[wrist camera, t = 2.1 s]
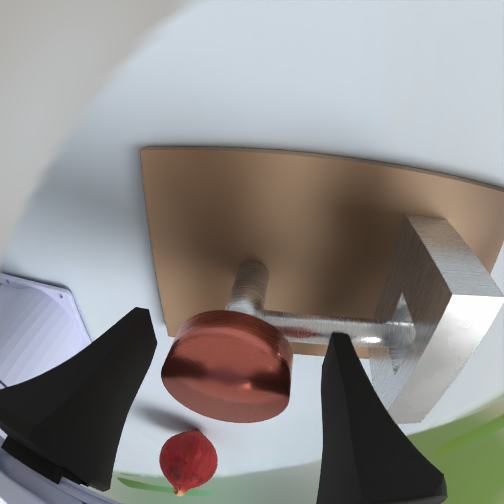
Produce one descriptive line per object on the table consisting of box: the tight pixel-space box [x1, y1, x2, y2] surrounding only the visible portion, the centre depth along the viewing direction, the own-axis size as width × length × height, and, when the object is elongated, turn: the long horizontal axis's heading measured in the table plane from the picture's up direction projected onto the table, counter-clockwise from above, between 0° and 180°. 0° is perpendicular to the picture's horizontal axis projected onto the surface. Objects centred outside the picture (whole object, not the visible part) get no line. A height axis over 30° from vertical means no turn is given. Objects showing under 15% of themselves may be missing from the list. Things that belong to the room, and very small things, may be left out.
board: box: [140, 146, 504, 359], centre depth 16 cm, size 19×12×1 cm, turn 88°
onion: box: [159, 430, 217, 496], centre depth 25 cm, size 6×6×8 cm
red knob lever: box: [161, 261, 417, 423], centre depth 12 cm, size 12×4×7 cm, turn 88°
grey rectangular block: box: [367, 213, 504, 424], centre depth 12 cm, size 2×8×6 cm, turn 178°
